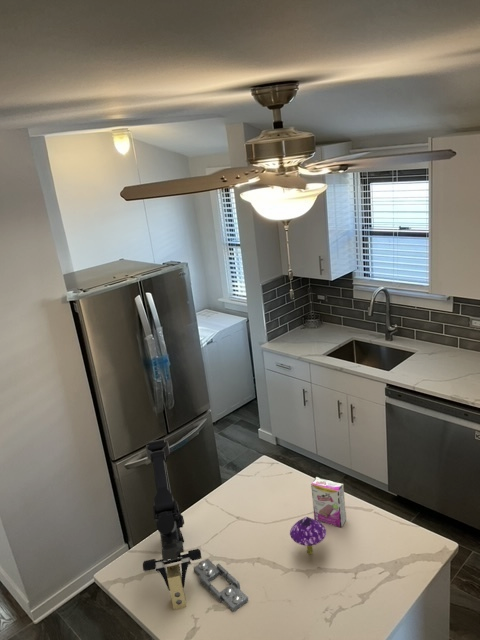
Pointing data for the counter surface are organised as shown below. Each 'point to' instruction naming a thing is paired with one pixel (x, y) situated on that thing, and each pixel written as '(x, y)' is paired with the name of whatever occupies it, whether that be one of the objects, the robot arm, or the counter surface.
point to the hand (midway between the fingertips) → (176, 589)
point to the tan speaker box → (176, 586)
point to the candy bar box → (328, 502)
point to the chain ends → (231, 593)
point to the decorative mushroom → (308, 533)
